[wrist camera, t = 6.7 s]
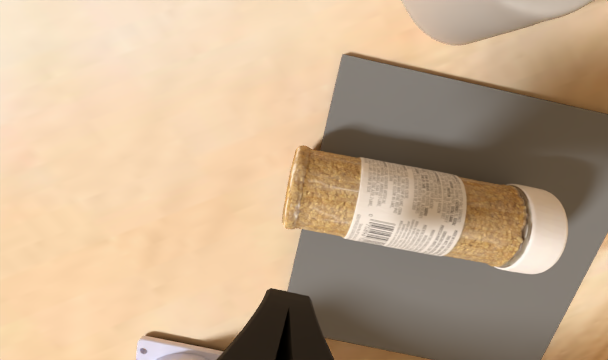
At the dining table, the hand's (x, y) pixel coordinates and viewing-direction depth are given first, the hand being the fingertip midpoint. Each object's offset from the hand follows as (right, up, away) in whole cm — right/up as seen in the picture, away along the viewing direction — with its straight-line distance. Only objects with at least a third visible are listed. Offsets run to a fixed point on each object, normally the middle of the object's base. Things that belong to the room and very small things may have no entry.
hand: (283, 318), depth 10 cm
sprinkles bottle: (0, +4, +7) cm, 8 cm away
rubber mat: (+10, +1, +10) cm, 14 cm away
